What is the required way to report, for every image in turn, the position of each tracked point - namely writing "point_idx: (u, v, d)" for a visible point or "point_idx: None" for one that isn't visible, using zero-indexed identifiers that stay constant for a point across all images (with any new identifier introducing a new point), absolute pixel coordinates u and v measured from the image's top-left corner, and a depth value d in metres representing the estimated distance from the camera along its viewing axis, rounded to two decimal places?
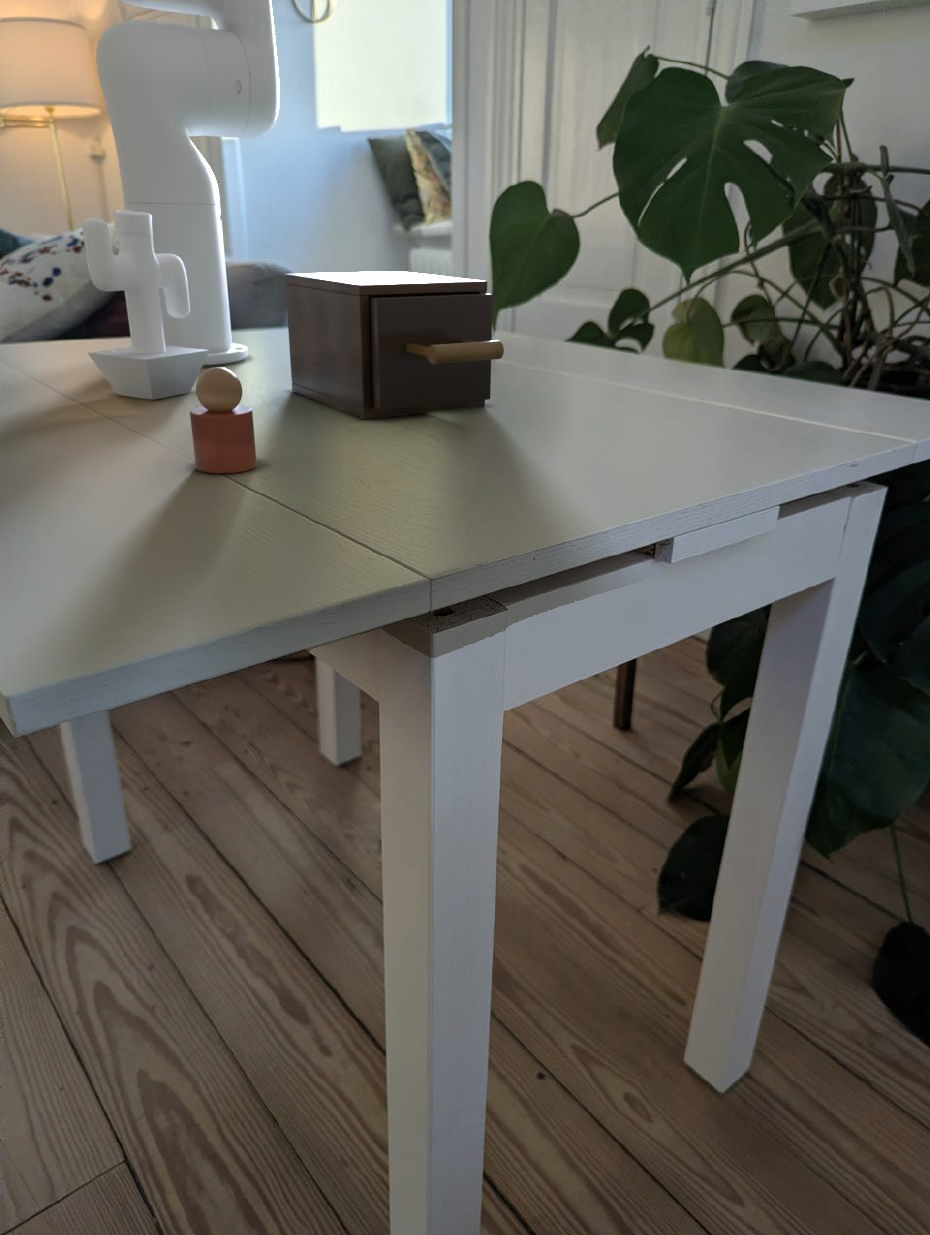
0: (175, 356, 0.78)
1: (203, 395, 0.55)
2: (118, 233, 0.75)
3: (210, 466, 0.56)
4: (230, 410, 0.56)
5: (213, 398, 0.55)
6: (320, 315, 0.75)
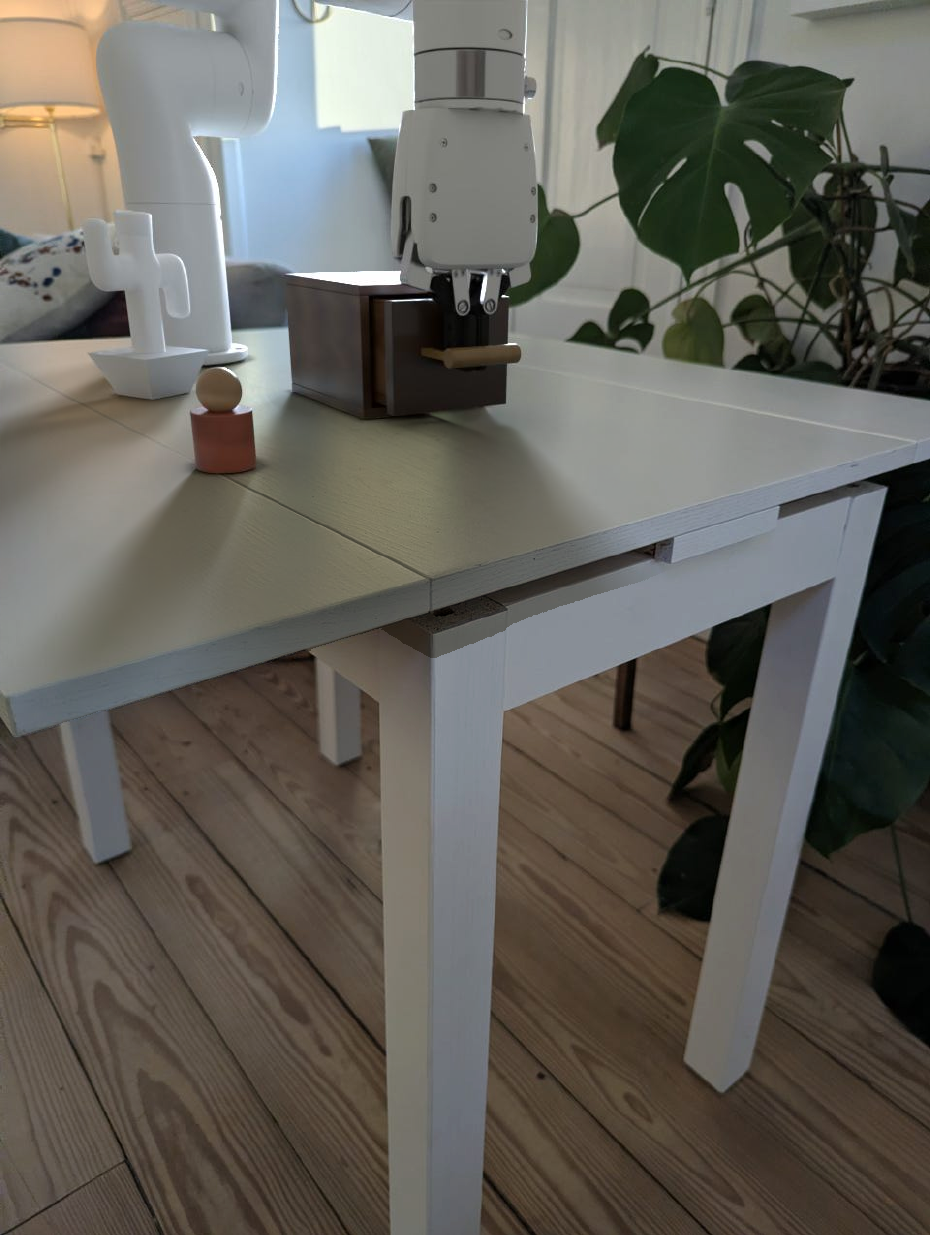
0: (175, 356, 0.78)
1: (203, 395, 0.55)
2: (118, 233, 0.75)
3: (210, 466, 0.56)
4: (230, 410, 0.56)
5: (213, 398, 0.55)
6: (320, 315, 0.75)
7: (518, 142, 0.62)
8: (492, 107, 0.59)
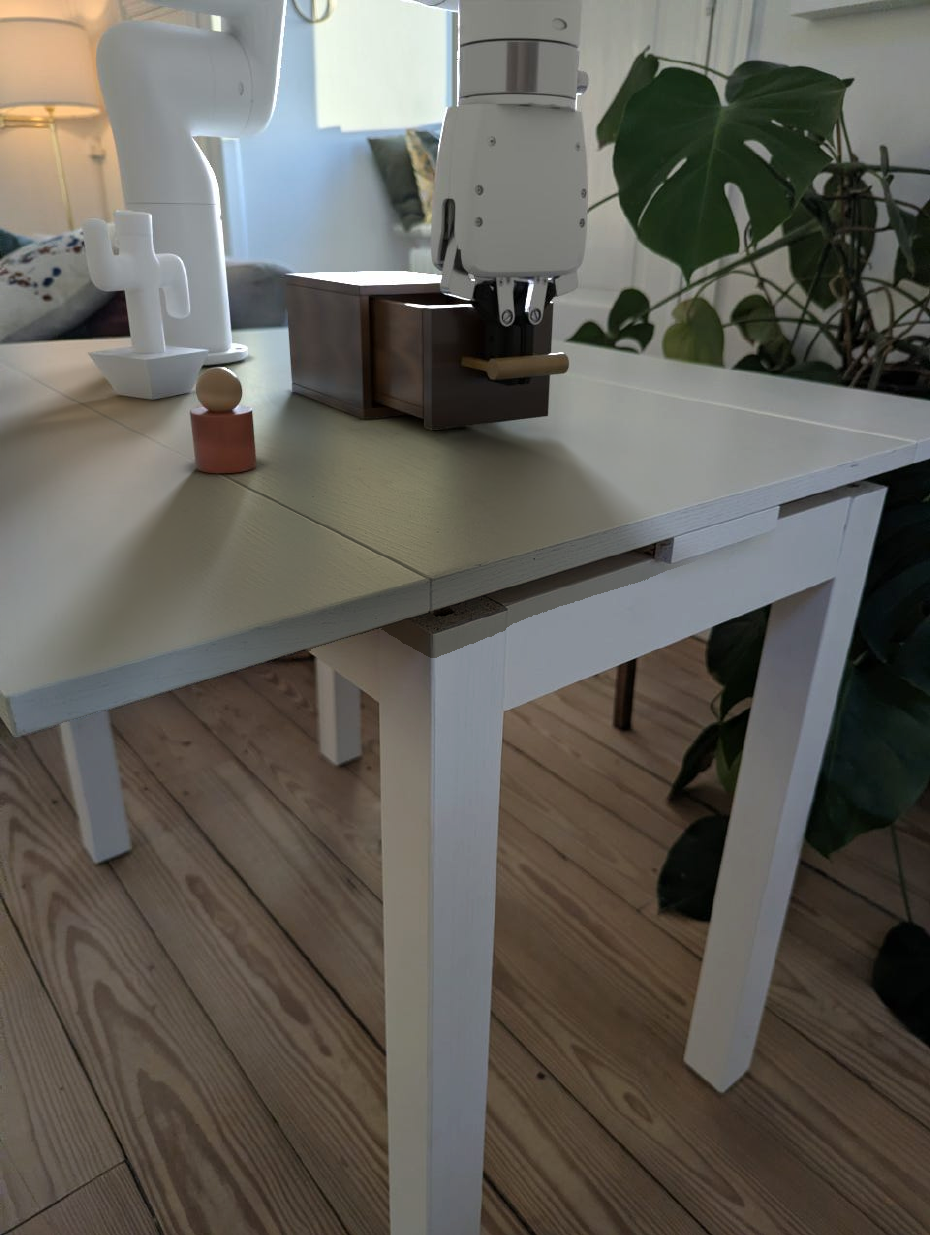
0: (175, 356, 0.78)
1: (203, 395, 0.55)
2: (118, 233, 0.75)
3: (210, 466, 0.56)
4: (230, 410, 0.56)
5: (213, 398, 0.55)
6: (320, 315, 0.75)
7: (569, 141, 0.58)
8: (544, 103, 0.54)
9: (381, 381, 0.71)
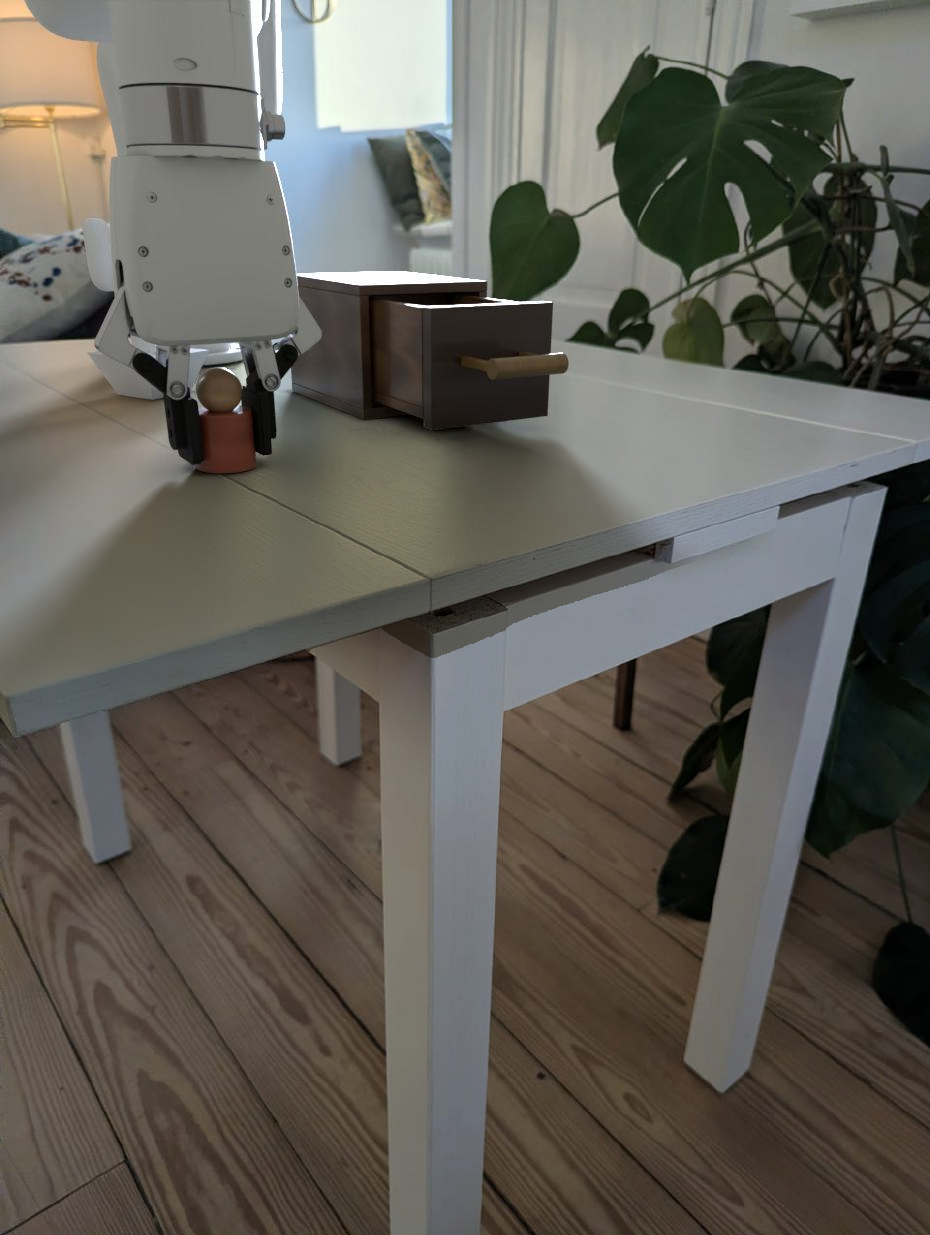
0: None
1: (203, 395, 0.55)
2: None
3: (210, 466, 0.56)
4: (230, 410, 0.56)
5: (213, 398, 0.55)
6: (320, 315, 0.75)
7: (257, 194, 0.51)
8: (207, 155, 0.48)
9: (381, 381, 0.71)
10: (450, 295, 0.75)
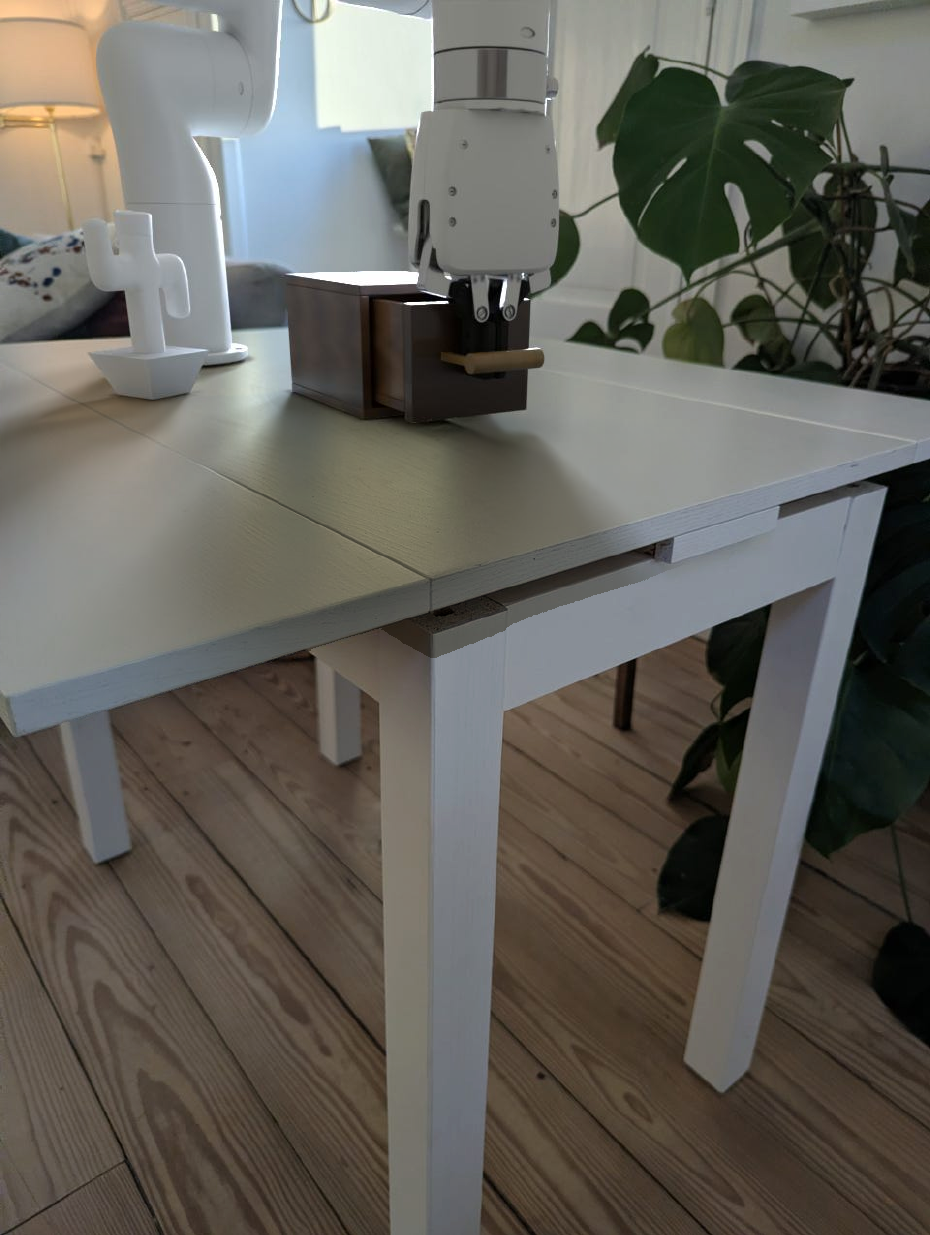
0: (175, 356, 0.78)
1: None
2: (118, 233, 0.75)
3: None
4: None
5: None
6: (320, 315, 0.75)
7: (540, 144, 0.60)
8: (514, 108, 0.57)
9: None
10: None
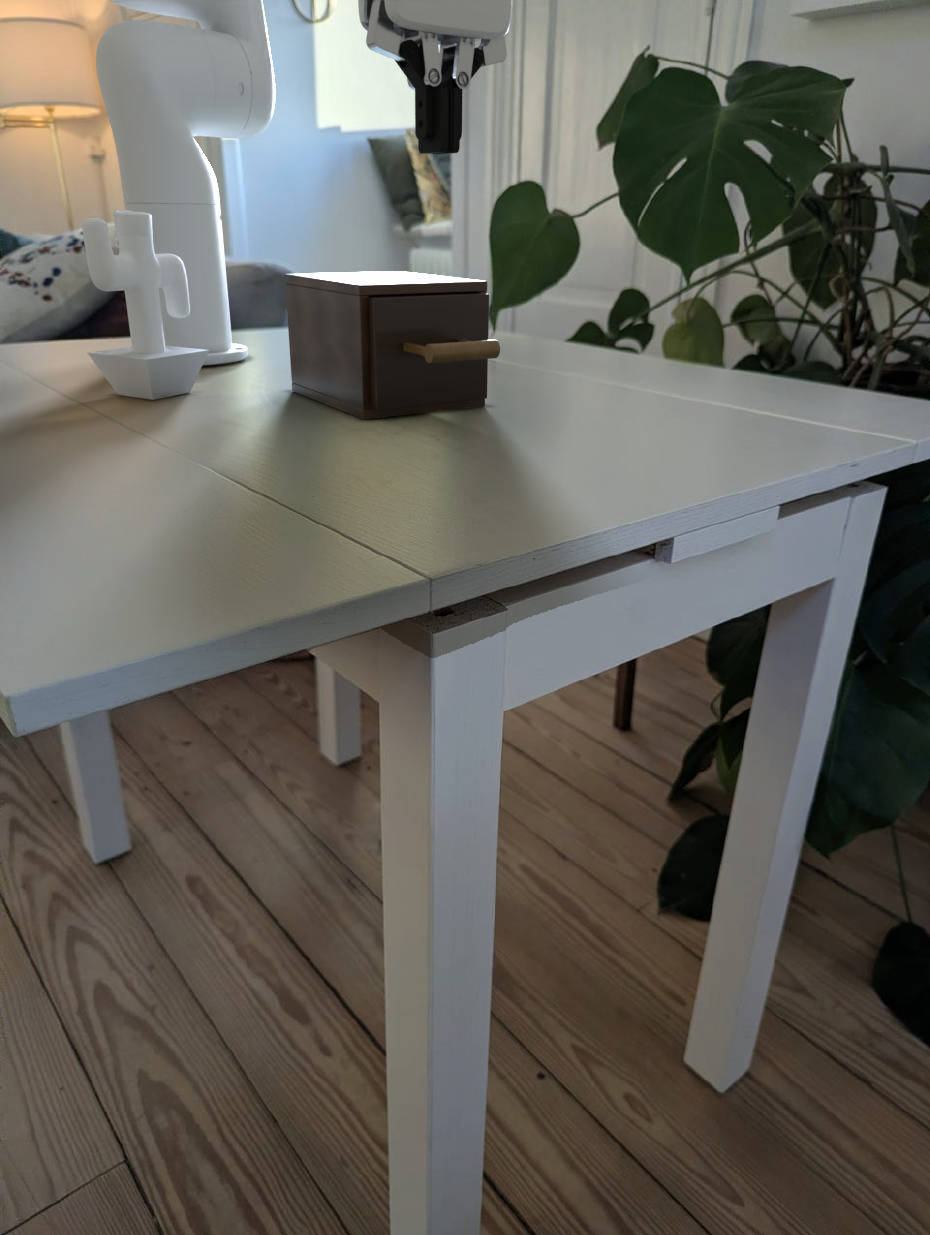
0: (175, 356, 0.78)
1: None
2: (118, 233, 0.75)
3: None
4: None
5: None
6: (320, 315, 0.75)
7: None
8: None
9: None
10: None
